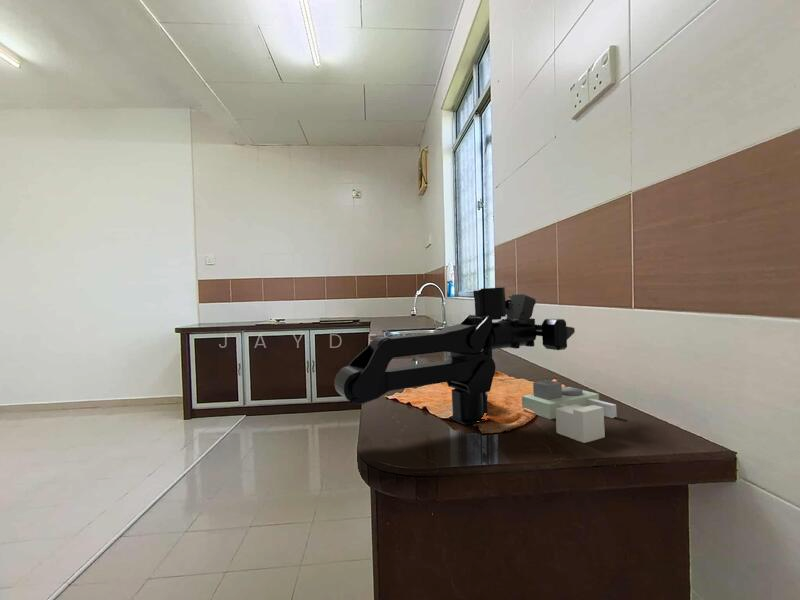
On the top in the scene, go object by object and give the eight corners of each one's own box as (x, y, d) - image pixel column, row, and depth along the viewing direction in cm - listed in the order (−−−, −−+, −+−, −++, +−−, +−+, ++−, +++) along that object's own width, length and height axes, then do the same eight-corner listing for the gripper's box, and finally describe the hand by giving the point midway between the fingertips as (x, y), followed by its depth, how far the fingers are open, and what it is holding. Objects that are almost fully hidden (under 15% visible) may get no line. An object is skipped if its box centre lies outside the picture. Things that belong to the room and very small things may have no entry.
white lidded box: (584, 443, 68) (582, 412, 68) (556, 433, 74) (555, 404, 74) (604, 437, 70) (603, 407, 70) (576, 428, 76) (575, 399, 76)
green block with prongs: (574, 427, 76) (573, 395, 75) (522, 409, 88) (521, 382, 88) (625, 415, 81) (624, 385, 81) (569, 399, 94) (568, 374, 94)
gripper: (533, 296, 79) (590, 293, 86) (476, 297, 96) (527, 294, 102) (536, 354, 79) (592, 346, 86) (478, 344, 96) (529, 338, 103)
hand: (557, 328), depth 94 cm, fingers open, 9 cm apart
